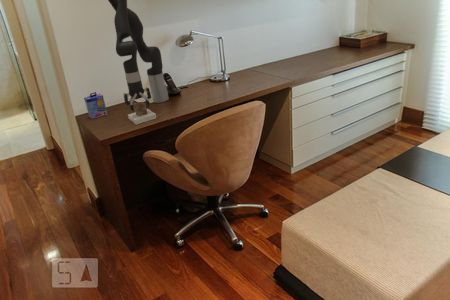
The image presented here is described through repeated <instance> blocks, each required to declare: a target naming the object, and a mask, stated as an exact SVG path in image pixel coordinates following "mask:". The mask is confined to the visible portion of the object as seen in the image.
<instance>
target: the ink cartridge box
mask: <svg viewBox="0 0 450 300" xmlns="http://www.w3.org/2000/svg"><path fill="white" fill-rule="evenodd" d="M83 100H84V102H85V106H86V109H87V112H88V113H87V114H88V115H89V118H90V119H92V120H93V119H97V118H101V117H104V116H107V115H108V110H107V107H106V103H105V99H104V95H103V94H101V93H97V92H96V91H95V92H92V93H89V95H88V96H86V97H83Z"/></svg>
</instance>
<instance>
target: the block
mask: <svg viewBox="0 0 450 300" xmlns="http://www.w3.org/2000/svg"><path fill="white" fill-rule="evenodd" d="M133 108H134V113H135V112H136V115H138V116H142V115H146V114H147V109H148V108H147V106H146V102H144V101H139V102H135V103H133Z"/></svg>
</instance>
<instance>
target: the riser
mask: <svg viewBox="0 0 450 300" xmlns="http://www.w3.org/2000/svg"><path fill="white" fill-rule="evenodd" d="M146 109H147V114H146V115H142V116H138V115H136V112H135V111H134V112H132V113H129V114H127V117H128V120H129V121H131V122H132V123H133V124H134V125H139V124H141V123H145V122H149V121H152V120H155V119H157V114H156V113H155V112H154V111H152V110H150V109H149V108H146Z"/></svg>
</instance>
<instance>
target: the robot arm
mask: <svg viewBox="0 0 450 300" xmlns="http://www.w3.org/2000/svg"><path fill="white" fill-rule="evenodd" d="M107 1H108V3H109V4H110V5H111V7H112V8H113V10H114V11H115V15H114V21H113V22H114V28H115V33H116V43H115V52H116V54H117V55H118V56H119V57H130V56H131V57H130V58H129V59H126V60H124V61H123V62H122V66H123V70H124V74H125V80H126V84H127V89H128V92H127V93H123V99H124V104H125V105H127V106H129V109H130V111H132V112H135V108H134V102H135V100H138V99H141V98H143V99H144V100H145V102H144V103H145V105H146V108H149V106H150V100H151V99H152V102H153V103H155V104H156V103H157V104H159V103H164V102H166V101H169V100H170V98H169V93H168V88H167V84H166V83H165V77H164V73H163V68H164V67H163V60H162V53H161V50H160V49H159V47H158V46H148V45H147V43H146V42H145V40H144V36H143V35H144V26H143V23H142V22H141V19H140V18H139V16H138V14H137V13H135V11H133V10H132V9H130V8H129V7H128V0H107ZM127 38H131V40H126V41H123V40H125V39H127ZM138 55H139V57H140V58H141V60H142V62H144V63H151V67H150V68H148V69H146V75H147V79H148V84H149V87H145V88H144V87H143V83H142V82H143V81H142V77H141V74H140V71H139V66H138V61H137V57H138ZM145 93H146V94H147V95H145ZM129 97H130V98H129ZM128 98H129V99H128Z"/></svg>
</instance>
